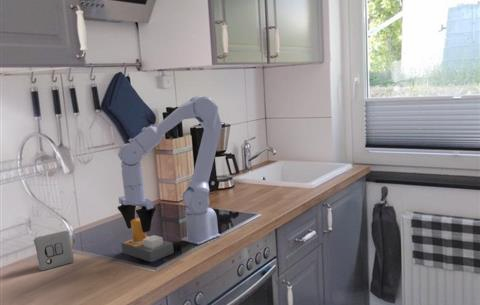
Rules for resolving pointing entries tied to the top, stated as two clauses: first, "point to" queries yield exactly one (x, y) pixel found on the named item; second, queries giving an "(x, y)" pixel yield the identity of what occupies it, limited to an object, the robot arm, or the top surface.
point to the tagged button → (136, 242)
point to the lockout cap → (137, 230)
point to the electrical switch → (54, 250)
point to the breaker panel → (147, 250)
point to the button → (153, 242)
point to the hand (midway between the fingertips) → (138, 229)
